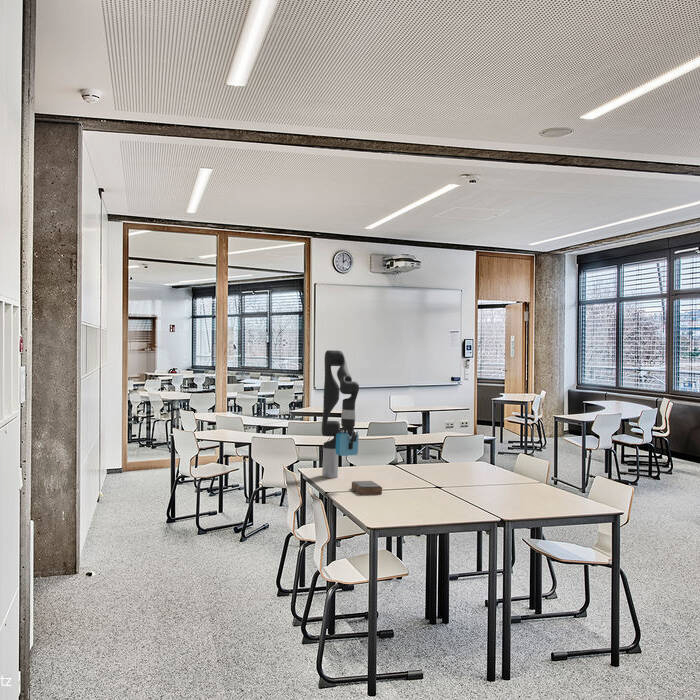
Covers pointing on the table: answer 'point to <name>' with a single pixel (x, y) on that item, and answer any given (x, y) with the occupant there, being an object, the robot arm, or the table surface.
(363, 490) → the stand
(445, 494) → the table surface
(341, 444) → the blue rectangular block
